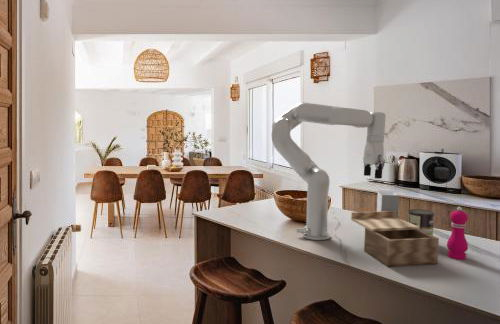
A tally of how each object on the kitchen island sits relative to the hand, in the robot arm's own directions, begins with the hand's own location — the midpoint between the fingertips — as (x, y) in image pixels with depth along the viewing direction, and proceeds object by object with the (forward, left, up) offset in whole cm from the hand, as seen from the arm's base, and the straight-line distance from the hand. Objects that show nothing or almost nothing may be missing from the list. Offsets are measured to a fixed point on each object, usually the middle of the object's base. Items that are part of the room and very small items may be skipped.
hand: (372, 176), depth 172 cm
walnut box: (-3, -28, -28) cm, 40 cm away
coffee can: (+17, -12, -28) cm, 35 cm away
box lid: (-3, -16, -18) cm, 24 cm away
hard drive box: (+10, +4, -28) cm, 30 cm away
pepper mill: (+20, -31, -28) cm, 47 cm away
